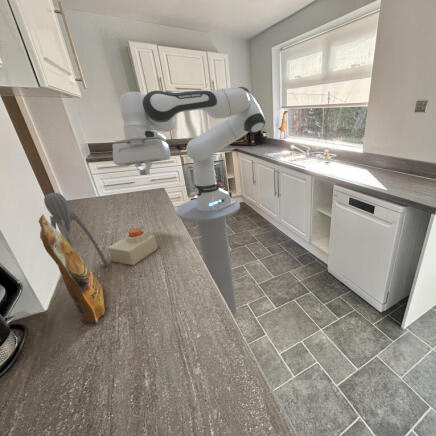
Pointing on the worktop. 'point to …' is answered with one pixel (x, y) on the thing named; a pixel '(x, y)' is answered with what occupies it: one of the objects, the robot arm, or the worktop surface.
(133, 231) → the nozzle
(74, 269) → the pancake mix bag
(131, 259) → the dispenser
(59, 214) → the citrus juicer
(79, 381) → the worktop surface
